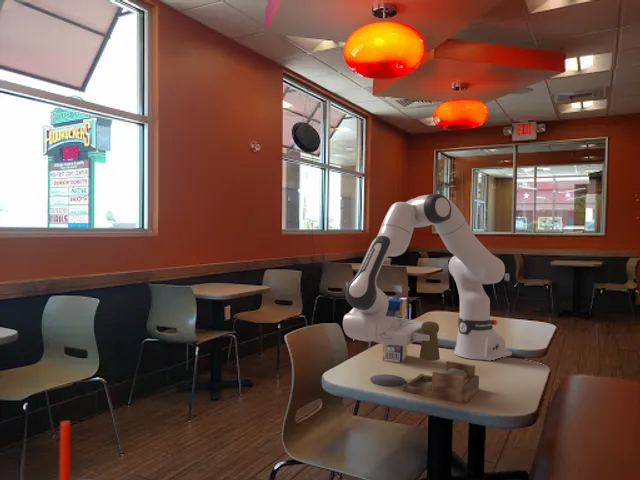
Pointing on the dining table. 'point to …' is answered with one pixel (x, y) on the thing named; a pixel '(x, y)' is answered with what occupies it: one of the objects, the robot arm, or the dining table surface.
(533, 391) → the dining table surface
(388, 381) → the coaster
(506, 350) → the robot arm
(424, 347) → the cork
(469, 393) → the rack
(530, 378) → the dining table surface
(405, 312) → the beverage box
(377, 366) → the dining table surface
